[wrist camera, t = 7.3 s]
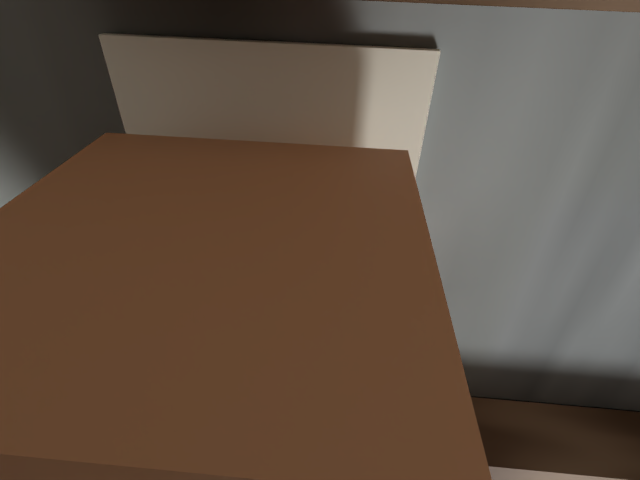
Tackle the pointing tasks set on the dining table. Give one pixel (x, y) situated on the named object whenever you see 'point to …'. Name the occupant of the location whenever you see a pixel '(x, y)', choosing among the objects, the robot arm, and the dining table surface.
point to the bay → (365, 132)
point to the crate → (228, 319)
